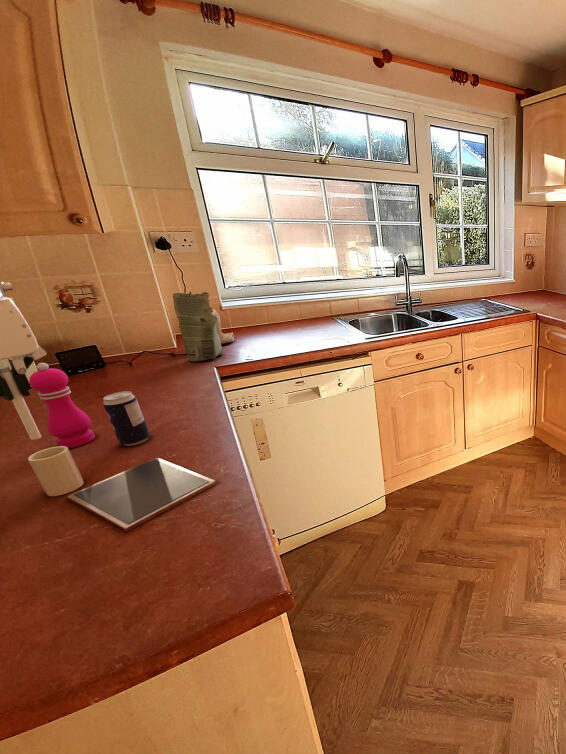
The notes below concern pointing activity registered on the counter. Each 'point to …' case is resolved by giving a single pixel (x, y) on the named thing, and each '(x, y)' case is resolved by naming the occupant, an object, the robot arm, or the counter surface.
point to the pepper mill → (61, 407)
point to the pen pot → (56, 470)
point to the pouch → (197, 326)
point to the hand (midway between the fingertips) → (16, 396)
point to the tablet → (141, 493)
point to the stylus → (20, 404)
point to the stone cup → (223, 337)
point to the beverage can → (126, 418)
